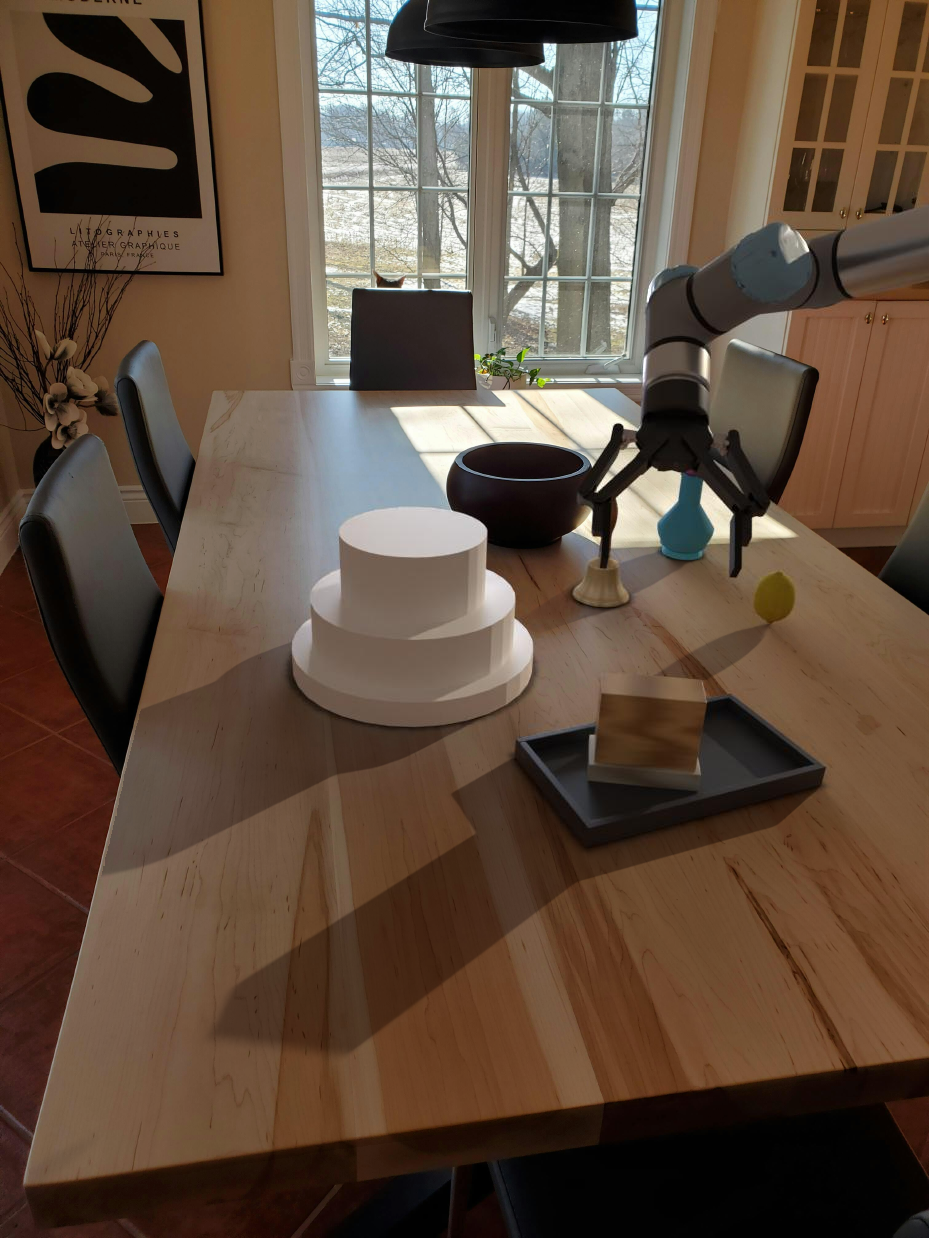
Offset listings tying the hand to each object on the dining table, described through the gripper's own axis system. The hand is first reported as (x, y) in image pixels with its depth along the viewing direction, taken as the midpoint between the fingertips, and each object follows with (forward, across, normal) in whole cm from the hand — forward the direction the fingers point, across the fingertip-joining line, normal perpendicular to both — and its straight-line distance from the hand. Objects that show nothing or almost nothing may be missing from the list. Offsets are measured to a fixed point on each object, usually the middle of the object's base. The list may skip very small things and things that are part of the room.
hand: (669, 568), depth 94 cm
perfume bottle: (-25, -8, -52) cm, 58 cm away
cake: (+7, +29, -20) cm, 36 cm away
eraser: (+21, +2, -5) cm, 21 cm away
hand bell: (-11, +5, -38) cm, 39 cm away
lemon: (-7, -18, -34) cm, 39 cm away
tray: (+20, -1, -7) cm, 21 cm away
